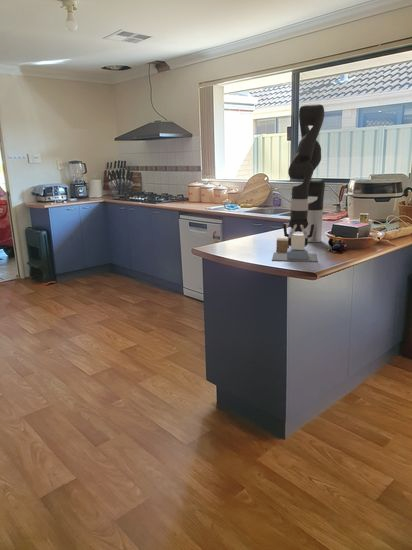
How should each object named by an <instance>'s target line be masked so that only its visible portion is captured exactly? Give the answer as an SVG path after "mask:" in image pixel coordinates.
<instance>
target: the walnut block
mask: <svg viewBox="0 0 412 550" xmlns="http://www.w3.org/2000/svg"><path fill="white" fill-rule="evenodd" d="M275 246H276V247H275V248H276V251H275V252H280V253H287V250H288V248H290V245H288V237H277V238H276V245H275Z"/></svg>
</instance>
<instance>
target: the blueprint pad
mask: <svg viewBox="0 0 412 550" xmlns="http://www.w3.org/2000/svg"><path fill="white" fill-rule="evenodd" d="M271 261H272V262H290V263H291V262H297V263H319V259H318V253H309V252H308V248H305V249H304V250H298V249H291V247H289V248H288V250H287V253H286V252H276V251H274V252H273V255H272V259H271Z"/></svg>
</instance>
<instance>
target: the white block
mask: <svg viewBox="0 0 412 550" xmlns="http://www.w3.org/2000/svg"><path fill="white" fill-rule="evenodd" d="M290 248H291V249H298V250H304V249H306V247H305V236H304V234H303V233H293V234H292V235H291V246H290Z"/></svg>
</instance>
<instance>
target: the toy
mask: <svg viewBox="0 0 412 550" xmlns="http://www.w3.org/2000/svg"><path fill="white" fill-rule="evenodd" d="M334 236H335V237H338V236H339V235H334ZM332 238H333V237H330V238H329V239H328V241H327V243H328V246H329V247H330V248H327V252H332V251H333V253H341V252H342V251H343V248H346V246H347V244H345V245H344V243H343V245H342V243H341V240H339V239H336V238H335V239H334V240H333V239H332Z"/></svg>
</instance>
